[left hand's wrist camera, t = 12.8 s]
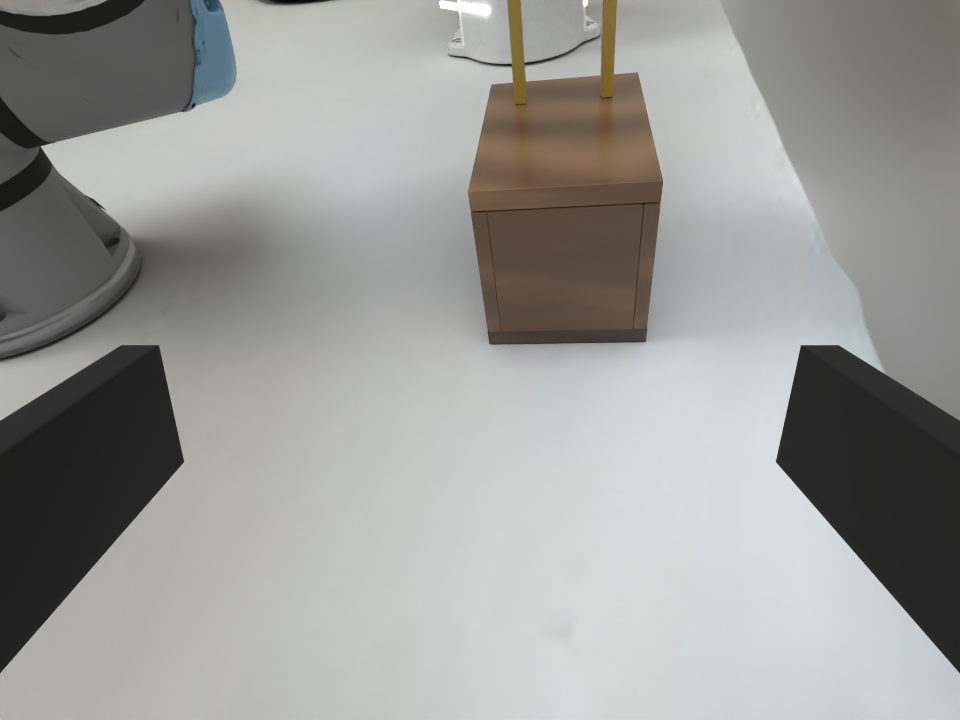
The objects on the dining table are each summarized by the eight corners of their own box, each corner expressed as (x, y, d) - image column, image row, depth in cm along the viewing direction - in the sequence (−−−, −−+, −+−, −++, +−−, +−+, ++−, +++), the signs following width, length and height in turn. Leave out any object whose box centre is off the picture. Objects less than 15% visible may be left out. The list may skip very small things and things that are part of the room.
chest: (504, 227, 45) (492, 107, 39) (628, 221, 44) (637, 95, 37) (489, 344, 36) (470, 212, 30) (645, 341, 35) (661, 203, 29)
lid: (493, 101, 39) (476, -65, 33) (636, 90, 38) (648, -86, 32) (470, 211, 30) (441, 8, 23) (660, 202, 28) (685, -17, 22)
